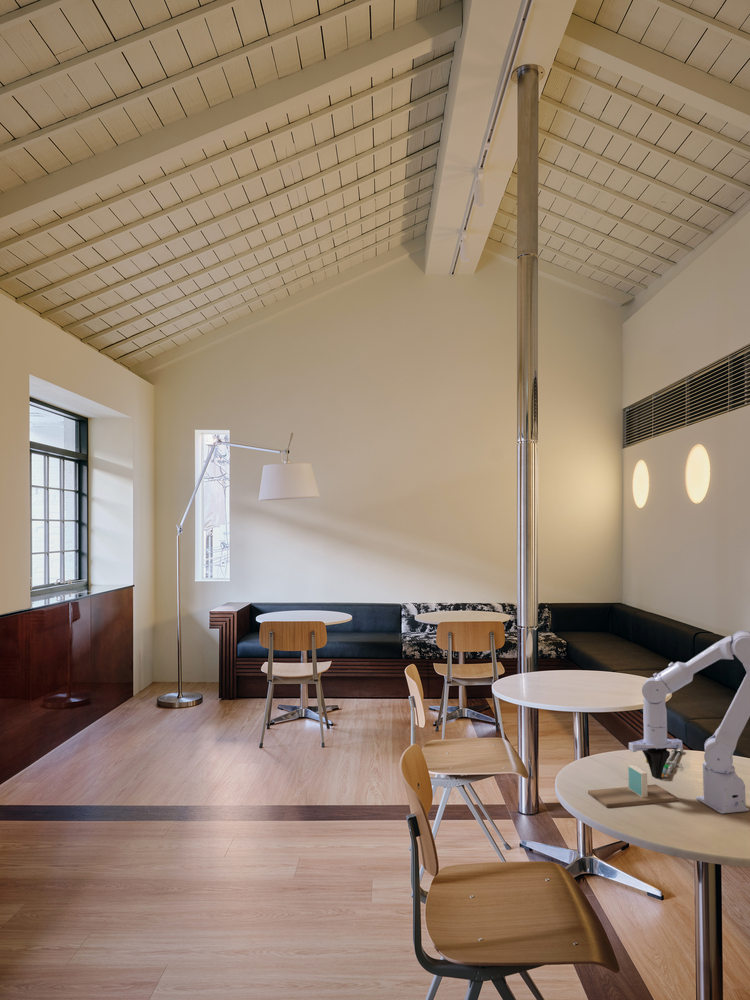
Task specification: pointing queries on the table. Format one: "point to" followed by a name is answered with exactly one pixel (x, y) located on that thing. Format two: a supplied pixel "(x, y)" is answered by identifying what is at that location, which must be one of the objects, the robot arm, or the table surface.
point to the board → (631, 796)
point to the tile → (637, 780)
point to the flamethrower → (670, 767)
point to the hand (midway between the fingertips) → (656, 777)
